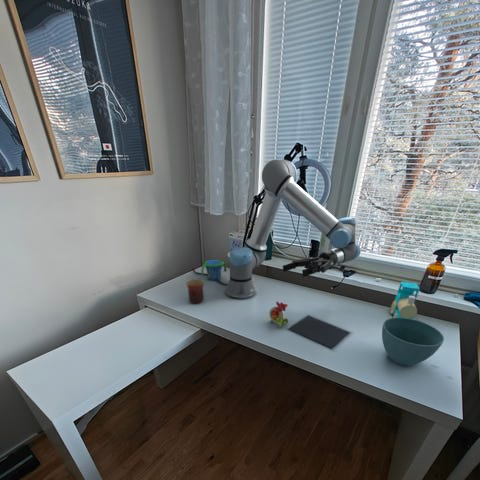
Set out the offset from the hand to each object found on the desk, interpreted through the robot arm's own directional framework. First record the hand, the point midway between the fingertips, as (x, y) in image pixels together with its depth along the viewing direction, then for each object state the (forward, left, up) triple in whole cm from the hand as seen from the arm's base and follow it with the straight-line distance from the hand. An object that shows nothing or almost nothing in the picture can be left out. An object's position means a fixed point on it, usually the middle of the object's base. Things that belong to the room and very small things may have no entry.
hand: (292, 271), depth 113 cm
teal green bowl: (+48, +4, -22) cm, 53 cm away
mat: (+17, -1, -22) cm, 28 cm away
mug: (-43, -19, -22) cm, 52 cm away
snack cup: (-59, +7, -22) cm, 63 cm away
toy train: (+39, +35, -22) cm, 57 cm away
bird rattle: (+1, -9, -22) cm, 24 cm away
